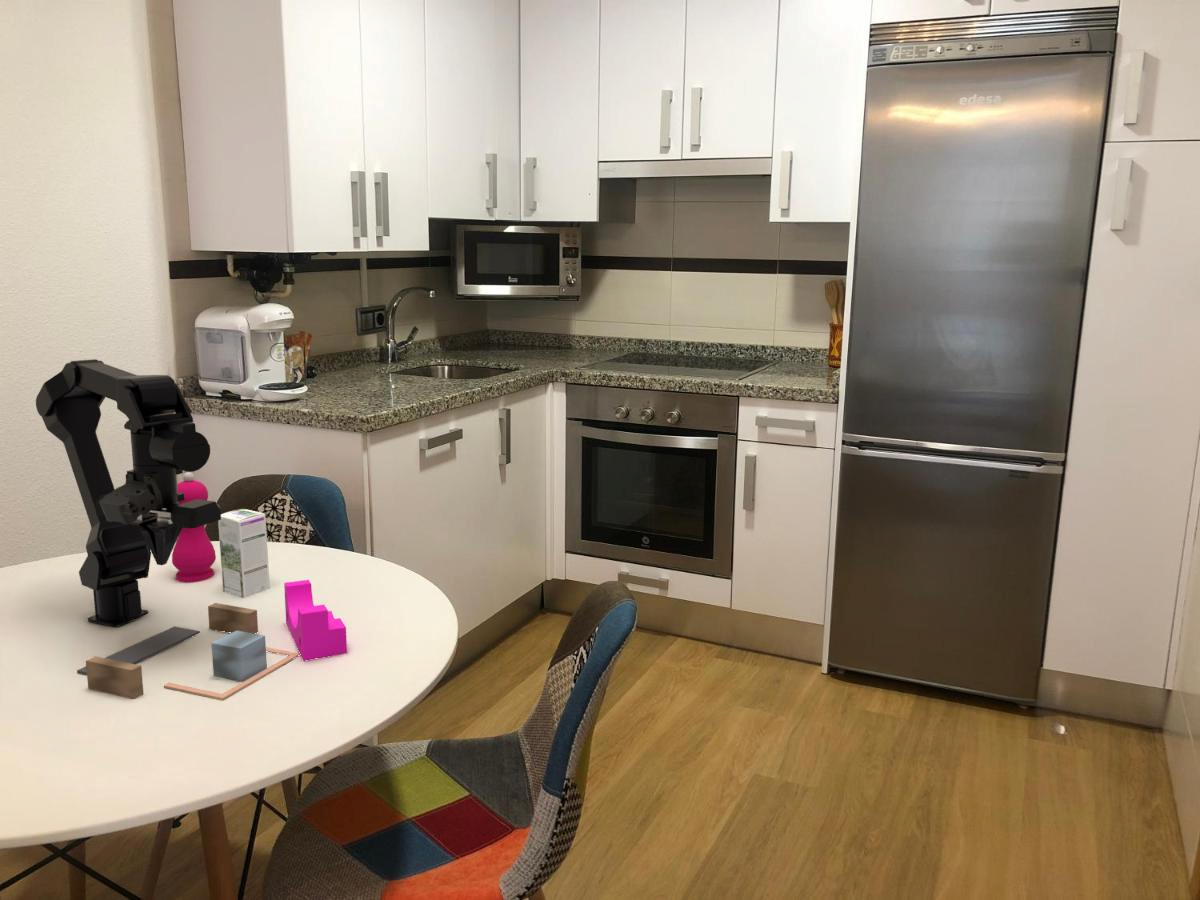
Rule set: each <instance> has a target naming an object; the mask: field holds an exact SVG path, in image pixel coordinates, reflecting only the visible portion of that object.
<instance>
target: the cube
mask: <svg viewBox="0 0 1200 900" xmlns="http://www.w3.org/2000/svg"><path fill="white" fill-rule="evenodd" d="M210 644H211V657H212V659H211V660H212V672H213V675H212V676H213V677H215V678H220V679H225V680H228V681H229V680H230V681H235V682H240V683H242V682H244V681H246V680H247V679H249V678H251V677H253V676H254V675H256V674H258V673H260V672H261V671H263V670H265V669H267V668H268V666H267V665H268V664H267V652H266V647H267V645H266V635H264V634H259V633H258V634H253V633H247V632H242V631H235V632H233V633H228V634H227V635H225V636H223V637H221V638H218V639H216V640H215V641H213V642H211V643H210Z"/></svg>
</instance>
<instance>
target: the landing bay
mask: <svg viewBox="0 0 1200 900" xmlns="http://www.w3.org/2000/svg"><path fill="white" fill-rule="evenodd" d="M266 651H268V652H272V653H271V654H273V653H279V654H284V655H288V656H285V657H284V658H282V659H281V660H279V661H277V662H276V663H274V664H272V665H270V666H269V667H268V666H267V669H265V670H263V671H261V672H260V673H258V674H256V675H254V676H253V677H251V678H249V679H247V680H246V681H244V682H240V683H238V684H237V685H235V686H233V687H231V688H229V690H228V689H227V690H226V691H224V692H223V693H220V692H215V691H211V690H206V689H201V688H197V687H191V686H188V685H187V686H186V685H183V684H178V683H172V682H168V683H166V684H164V685H163V689H169V690H173V691H179V692H182V693H187V694H192V695H196V696H197V695H198V696H201V697H206V698H211V699H216V700H221V701H224V700H226V699H228V698H230V697H231V696H233V695H234V694H237V693H238V692H240V691H242V690H243V689H245V688H247V687H248V686H250V685H252V684H254V683H256V682H258V681H259V680H261V679H262V678H264V677H266V676H267V675H270V674H271V673H273V672H275V671H276V670H278V669H280V668H281V667H283V666H285V665H286V663H287V664H288V663H290V662H292V661H293V660H294V659H293V658H295V657H297V656H298V655H300V653H299V652H293V651H290V650H289V651H288V650H282V649H279V648H272V647H267V646H266ZM268 652H267V653H268ZM300 656H301V655H300ZM298 657H299V656H298ZM298 657H297V658H298ZM292 659H293V660H292ZM295 659H296V658H295ZM291 660H292V661H291ZM289 661H290V662H289ZM284 664H285V665H284Z"/></svg>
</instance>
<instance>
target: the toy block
mask: <svg viewBox="0 0 1200 900" xmlns="http://www.w3.org/2000/svg"><path fill="white" fill-rule="evenodd" d="M283 584H284V585H283V586H284V587H283V588H284V607H285V624H287V625H286V627H287V626H288V627H287V628H289V629H288V631H289V630H290V631H289V633H290V632H291V633H290V635H292V636H291V638H292V637H293V638H292V640H293V639H294V640H293V642H294V641H295V642H294V644H295V643H296V644H295V647H296V646H297V647H296V648H298V649H297V651H298V650H299V651H298V653H299V652H300V654H301V655H300V657H302V658H301V660H302V659H303V660H302V661H304V662H306V661H305V660H309V661H311V660H310V659H314V660H316V659H315V658H319V659H324V658H323V657H325V658H329V657H328V656H330V657H333V655H334V656H338V655H344V654H348V647H347V646H348V645H347V644H348V643H347V627H346V625H345V623H344V622H343V621H342V618H335V617H334V614H333V611H332V610H329V609H328V608H327V607H326V605H325V604H318V605H317V604H316V605H314V599H313V590H312V582H311V581H310V579H305V580H297V581H296V580H295V581H289V582H284V583H283Z"/></svg>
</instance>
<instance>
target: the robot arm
mask: <svg viewBox="0 0 1200 900" xmlns="http://www.w3.org/2000/svg"><path fill="white" fill-rule="evenodd" d="M106 398H107V399H110V400H112V401H115V402H116V409H117V411H120V412H121V413H123V414H124V415H125V416H126V418H127V419H128V420H127V421H126V422H125V423H124V425H123V429H125V430H128V431H130V443H131V454H132V455H131V456H132V469H130V470H126V474H125V483H124V484H122V485H120V486H118V487H117V488H115V486H114V483H113V479H112V478H111V474H110V471H109V468H108V465H107V462H106V458H105V456H104V453H103V449H102V447H101V444H100V440H99V437H98V435H97V430H98V426H99V423H100V420H101V417H102V411H101V405H102V403H103V402H104V401H105V399H106ZM35 407H36V411H37V413H38V414H39V415H38V416H40V417H41V418H42V421H43V423H44V425H45V428H46V430H47V431H49V433H51V434H52V435H54V437H56V438H57V439H58V440H59V441H60V442H62V443H63V446H64V448H65V451H66V452H65V453H66V455H67V458H68V461H69V464H70V466H71V469H72V473H73V475H74V478H75V482H76V485H77V488H78V491H79V494H80V497H81V500H82V503H83V506H84V509H85V511H86V515H87V518H88V521H89V524H90V530H89V531H90V532H89V534H88V538H87V540H86V541H87V542H86V543H85V544H86V545H85V549H86V554H87V556H86V557H85V560H84V562H83V563H82V566H81V567H80V568H79V571H78V574H79V575H78V576H79V579H80V582H81V585H82V586H84V587H86V588H89V589H90V590H92V592H93V605H94V615H92V616H88V617H87V618H86V619H87V622H89V623H96V624H100V625H105V626H111V627H121V626H123V625H126V624H127V623H130V622H132V621H135V620H138V619H140V618H142V617H144V616H146V615H148V614H149V610H148V609H147V610H146V609H142V599H141V597H142V596H141V591H140V590H139V581H138V580H141V579H146V578H149V572H150V565H151V556H153V558H154V561H155V562H156V564H157V565H158V566H164V565H167V563H168V561H169V558H171V557H170V556H171V555H172V553H173V549H174V547H175V544H176V542H177V539H178V536H179V534H180V532H181V530H182V529H183V528H197V527H200V526H203V525H204V526H206V525H209V524H213V523H215V522H218V520H221V513H222V511H221V505H219V504H218V503H217V502H216V501H214V500H208V499H207V500H199V499H197V500H193V501H190V502H187V503H183V504H178V502H180V501H183V500H185V498H184V493H178V488H177V484H178V480H177V479H178V477H177V476H178V475H181V474H183V473H184V472H185V473H186V472H191V473H194V472H196V471H198V470H201V469H202V468H203V467H204V466H205V465H207V462H208V461H209V458H210V455H211V445H210V444H209V441H208V439H207V438H206V436H204V434H202V433H200V432H198V431H197V430H196V424H195V422H194V418H193V416H192V409H191V407H190V406H189V404H188V403H187V400H185V397H184V396H183V394H182V391H181V390H180V387H179V386H178V384H177V383H176V382H175V380H174V379H173V378H172V377H171V376H170V375H167V374H143V375H142V374H141V375H140V374H135V373H132V372H129V371H126V370H124V369H121V368H117V367H115V366H111V365H109V364H106V363H104V362H103V361H102V360H99V359H95V358H93V359H92V358H91V359H83V360H82V359H80V360H70V362H66V364H64V365H63V368H62V369H61V371H59V372H58V373H56V374H55V375H54V376H52V377H51V378H49V379H48V380H46V381H45V382H44V383H43V384H42V386H41V388H40V390H39V392H38V394H37V396H36V398H35ZM157 565H156V566H157Z"/></svg>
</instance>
